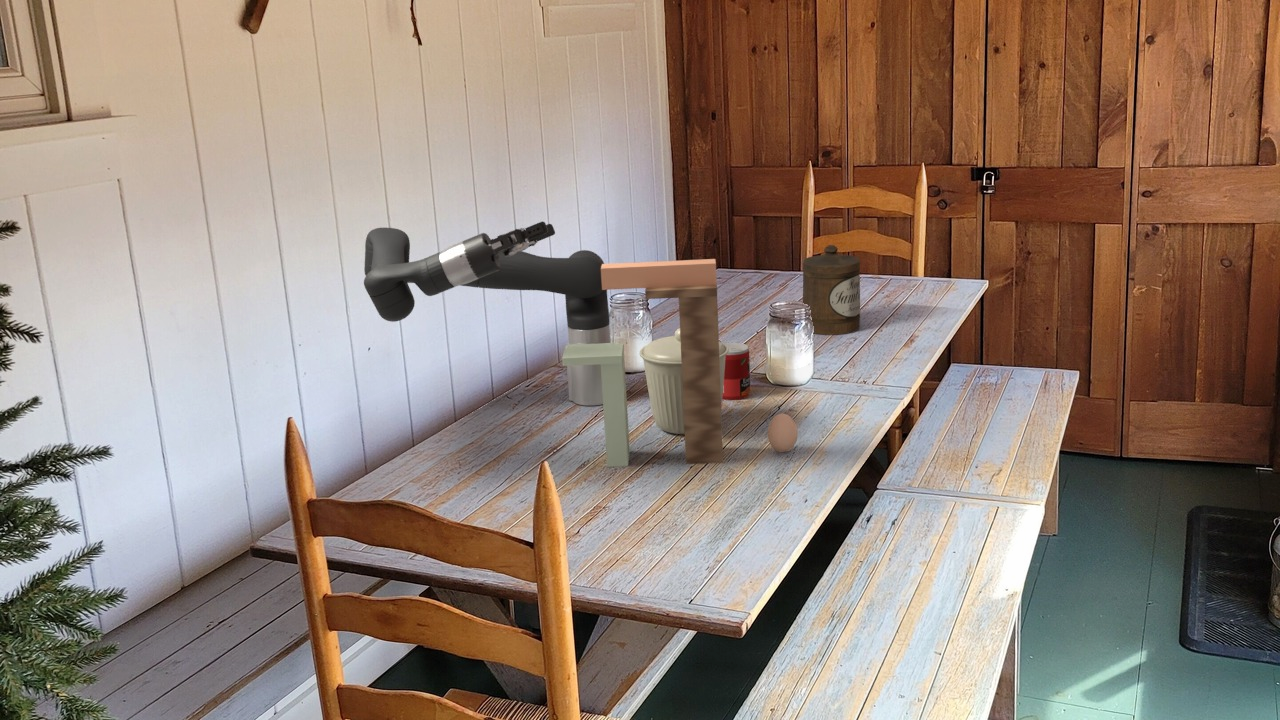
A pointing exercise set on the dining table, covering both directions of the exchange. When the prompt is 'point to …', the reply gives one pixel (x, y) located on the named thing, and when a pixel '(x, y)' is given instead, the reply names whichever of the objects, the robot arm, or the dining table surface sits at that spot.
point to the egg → (782, 433)
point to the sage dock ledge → (608, 394)
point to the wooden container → (832, 292)
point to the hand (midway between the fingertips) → (550, 227)
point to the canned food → (736, 372)
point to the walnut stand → (699, 369)
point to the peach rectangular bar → (658, 274)
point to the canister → (670, 380)
